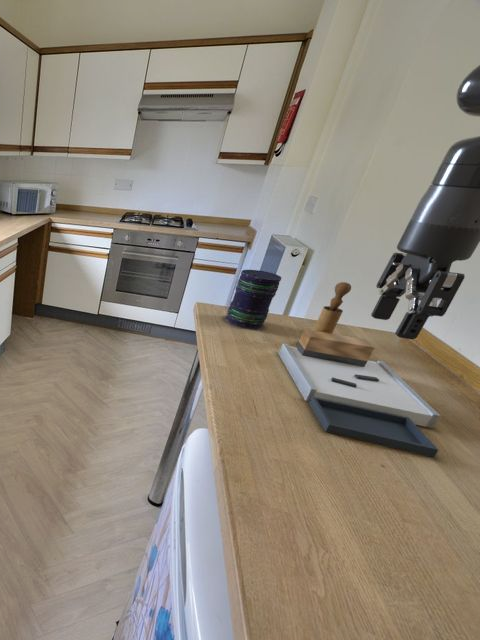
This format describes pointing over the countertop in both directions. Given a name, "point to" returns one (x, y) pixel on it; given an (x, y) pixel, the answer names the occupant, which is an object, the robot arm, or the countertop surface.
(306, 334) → the eraser
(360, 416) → the tray
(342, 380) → the smudge
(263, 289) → the storage jar
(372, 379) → the smudge
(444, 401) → the countertop surface
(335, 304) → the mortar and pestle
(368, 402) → the board
